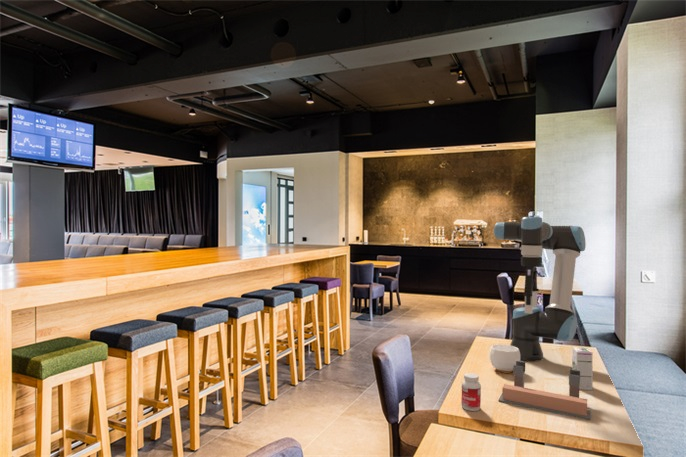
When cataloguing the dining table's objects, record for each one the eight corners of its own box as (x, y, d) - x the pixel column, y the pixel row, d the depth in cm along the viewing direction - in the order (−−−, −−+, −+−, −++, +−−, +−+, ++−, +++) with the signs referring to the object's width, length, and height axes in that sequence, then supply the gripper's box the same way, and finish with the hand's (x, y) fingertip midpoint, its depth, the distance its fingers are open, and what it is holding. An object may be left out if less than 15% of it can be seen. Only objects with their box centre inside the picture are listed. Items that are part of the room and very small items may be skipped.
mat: (502, 394, 157) (502, 393, 157) (590, 412, 143) (590, 410, 143) (498, 401, 151) (498, 399, 151) (590, 420, 137) (590, 418, 137)
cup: (488, 373, 181) (488, 350, 181) (490, 364, 192) (490, 342, 192) (520, 377, 176) (520, 353, 176) (520, 368, 188) (520, 345, 187)
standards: (513, 388, 164) (513, 360, 164) (582, 401, 152) (583, 371, 152) (510, 394, 158) (510, 365, 158) (582, 408, 146) (582, 377, 146)
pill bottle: (458, 408, 145) (458, 375, 145) (466, 402, 150) (466, 370, 150) (476, 413, 141) (476, 379, 141) (483, 407, 146) (483, 375, 146)
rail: (504, 395, 156) (504, 384, 156) (587, 411, 143) (587, 399, 142) (502, 398, 152) (502, 387, 152) (586, 416, 139) (587, 403, 139)
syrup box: (593, 390, 163) (593, 352, 163) (576, 389, 164) (576, 350, 164) (587, 384, 168) (588, 347, 168) (571, 383, 169) (571, 346, 169)
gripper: (525, 254, 182) (524, 304, 182) (516, 257, 160) (515, 314, 161) (544, 254, 178) (544, 306, 179) (538, 258, 157) (537, 317, 157)
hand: (530, 310), depth 170 cm, fingers open, 13 cm apart
